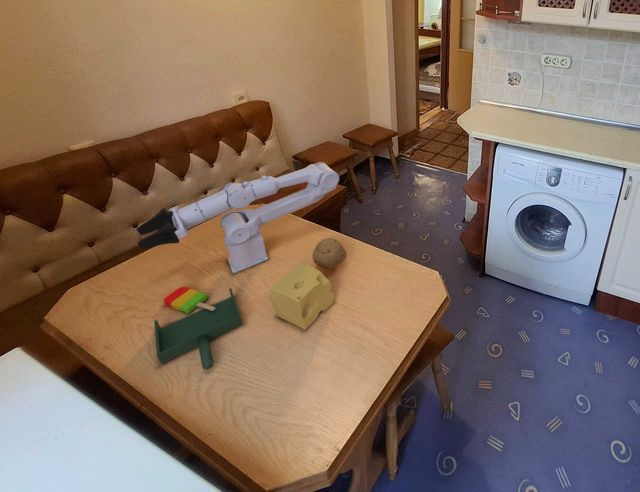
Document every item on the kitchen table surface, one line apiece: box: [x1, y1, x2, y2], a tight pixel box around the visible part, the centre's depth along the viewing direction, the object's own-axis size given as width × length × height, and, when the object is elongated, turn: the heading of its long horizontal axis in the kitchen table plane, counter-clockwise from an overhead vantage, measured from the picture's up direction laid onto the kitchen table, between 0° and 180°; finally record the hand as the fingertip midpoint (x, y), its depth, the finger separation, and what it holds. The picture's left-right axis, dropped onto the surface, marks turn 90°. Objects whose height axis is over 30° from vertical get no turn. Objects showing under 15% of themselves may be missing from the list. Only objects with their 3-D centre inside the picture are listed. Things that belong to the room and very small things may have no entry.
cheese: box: [270, 261, 336, 331], centre depth 92 cm, size 10×11×10 cm
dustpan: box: [154, 287, 244, 371], centre depth 84 cm, size 20×16×3 cm
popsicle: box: [163, 286, 216, 314], centre depth 93 cm, size 6×15×2 cm, turn 72°
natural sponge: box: [312, 237, 347, 271], centre depth 106 cm, size 9×9×10 cm
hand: (139, 238), depth 89 cm, fingers open, 7 cm apart
